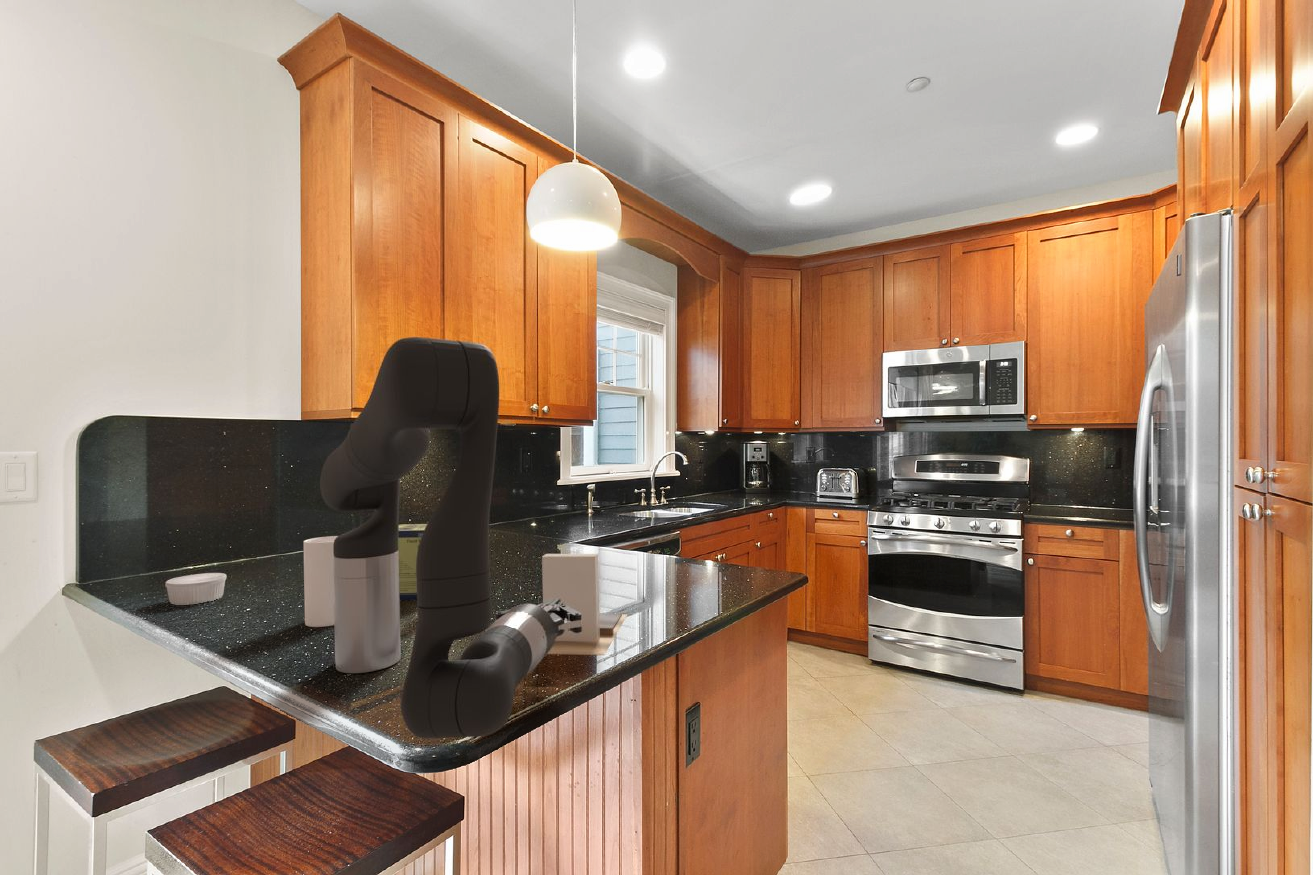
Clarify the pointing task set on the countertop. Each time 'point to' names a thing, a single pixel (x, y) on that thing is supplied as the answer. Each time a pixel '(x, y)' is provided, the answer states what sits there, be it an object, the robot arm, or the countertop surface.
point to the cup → (319, 581)
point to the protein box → (408, 559)
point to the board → (607, 633)
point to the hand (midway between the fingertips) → (555, 605)
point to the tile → (574, 590)
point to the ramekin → (196, 588)
